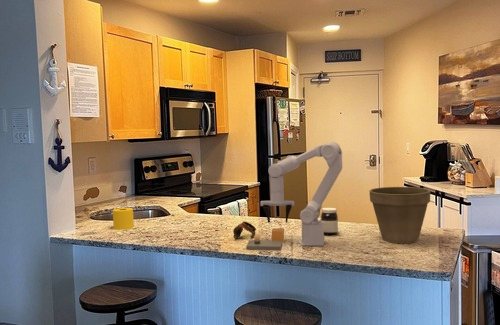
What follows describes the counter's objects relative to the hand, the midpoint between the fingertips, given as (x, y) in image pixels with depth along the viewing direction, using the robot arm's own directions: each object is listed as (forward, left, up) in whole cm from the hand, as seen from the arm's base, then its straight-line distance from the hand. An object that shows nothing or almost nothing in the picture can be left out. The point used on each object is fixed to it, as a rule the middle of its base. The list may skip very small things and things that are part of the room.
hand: (277, 222), depth 199 cm
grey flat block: (+5, +10, -8) cm, 14 cm away
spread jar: (-21, -15, -9) cm, 27 cm away
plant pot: (-52, -4, -8) cm, 53 cm away
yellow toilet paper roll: (+81, -25, -9) cm, 85 cm away
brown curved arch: (+16, -5, -9) cm, 19 cm away
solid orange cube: (0, 0, -8) cm, 8 cm away
